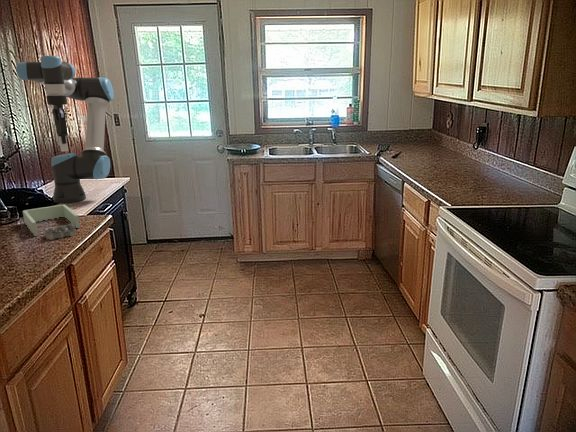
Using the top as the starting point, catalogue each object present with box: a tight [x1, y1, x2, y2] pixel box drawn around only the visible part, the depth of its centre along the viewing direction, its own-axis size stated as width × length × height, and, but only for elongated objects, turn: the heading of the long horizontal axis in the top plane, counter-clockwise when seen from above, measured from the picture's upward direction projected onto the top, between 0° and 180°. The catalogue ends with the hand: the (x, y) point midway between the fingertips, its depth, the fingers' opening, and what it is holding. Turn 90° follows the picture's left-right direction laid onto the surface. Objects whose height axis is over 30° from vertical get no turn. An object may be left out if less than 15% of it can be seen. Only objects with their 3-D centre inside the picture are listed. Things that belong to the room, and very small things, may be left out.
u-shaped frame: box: [22, 203, 81, 237], centre depth 185 cm, size 23×16×6 cm
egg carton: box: [43, 223, 77, 241], centre depth 173 cm, size 11×8×4 cm
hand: (64, 151), depth 194 cm, fingers closed
